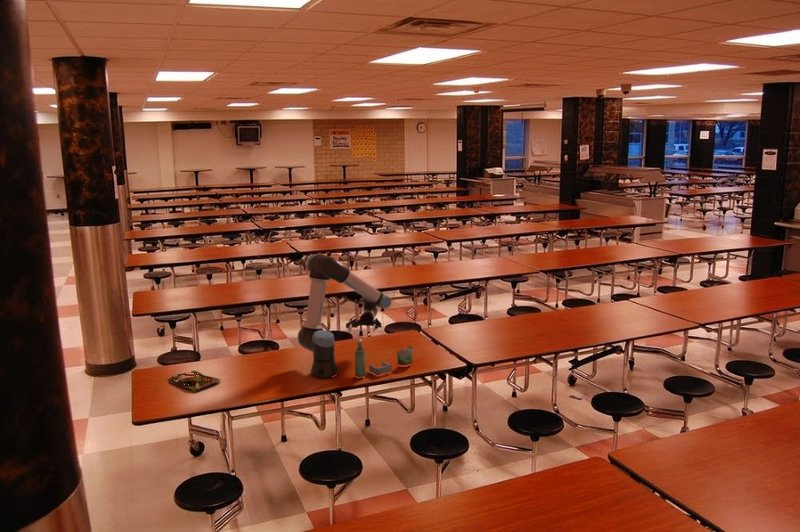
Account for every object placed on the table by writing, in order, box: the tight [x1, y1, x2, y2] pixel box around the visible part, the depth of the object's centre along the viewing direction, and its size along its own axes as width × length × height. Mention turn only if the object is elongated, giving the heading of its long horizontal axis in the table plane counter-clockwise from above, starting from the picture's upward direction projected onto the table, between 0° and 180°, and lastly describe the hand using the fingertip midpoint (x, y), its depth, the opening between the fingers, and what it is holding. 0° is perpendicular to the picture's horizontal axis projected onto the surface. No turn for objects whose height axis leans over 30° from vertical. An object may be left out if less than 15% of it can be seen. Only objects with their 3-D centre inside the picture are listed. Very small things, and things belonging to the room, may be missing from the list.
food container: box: [396, 345, 415, 366], centre depth 351 cm, size 12×6×10 cm, turn 143°
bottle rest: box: [368, 361, 393, 375], centre depth 341 cm, size 10×10×5 cm
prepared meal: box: [167, 370, 222, 394], centre depth 329 cm, size 28×4×18 cm
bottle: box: [354, 338, 366, 377], centre depth 333 cm, size 6×6×21 cm
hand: (361, 330), depth 339 cm, fingers open, 13 cm apart
